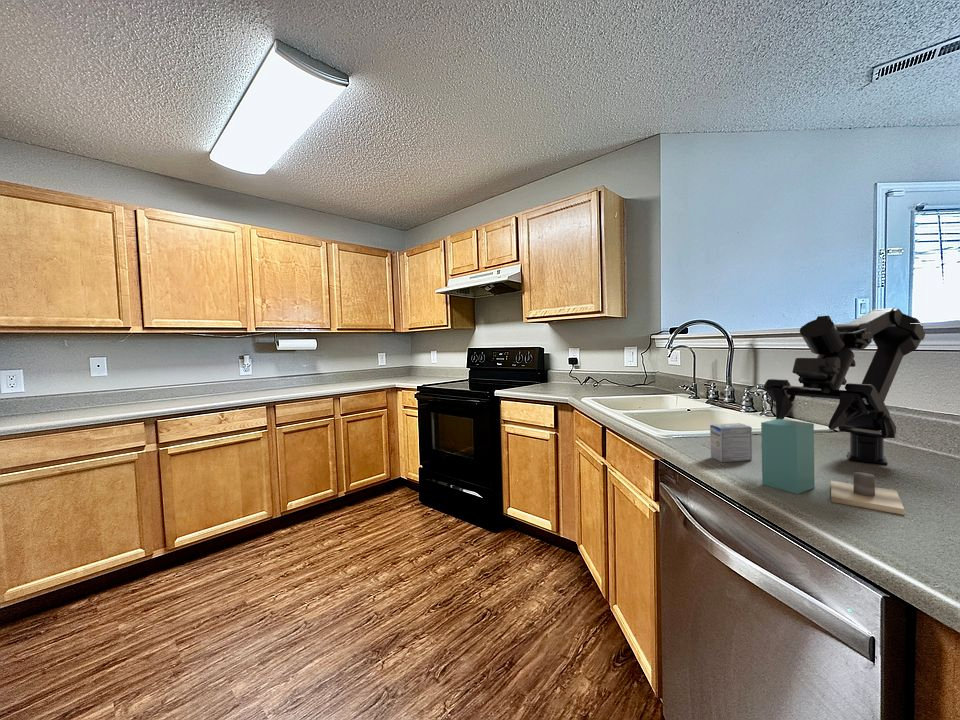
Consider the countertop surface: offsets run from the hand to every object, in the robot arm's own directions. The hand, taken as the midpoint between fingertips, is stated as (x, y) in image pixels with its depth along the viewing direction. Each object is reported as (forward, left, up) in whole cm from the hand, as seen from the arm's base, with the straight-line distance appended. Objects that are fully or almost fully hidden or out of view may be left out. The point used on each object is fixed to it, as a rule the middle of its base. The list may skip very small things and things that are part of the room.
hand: (802, 424), depth 80 cm
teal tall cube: (+5, -2, -12) cm, 13 cm away
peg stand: (+5, +9, -12) cm, 16 cm away
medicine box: (-9, -14, -12) cm, 21 cm away
